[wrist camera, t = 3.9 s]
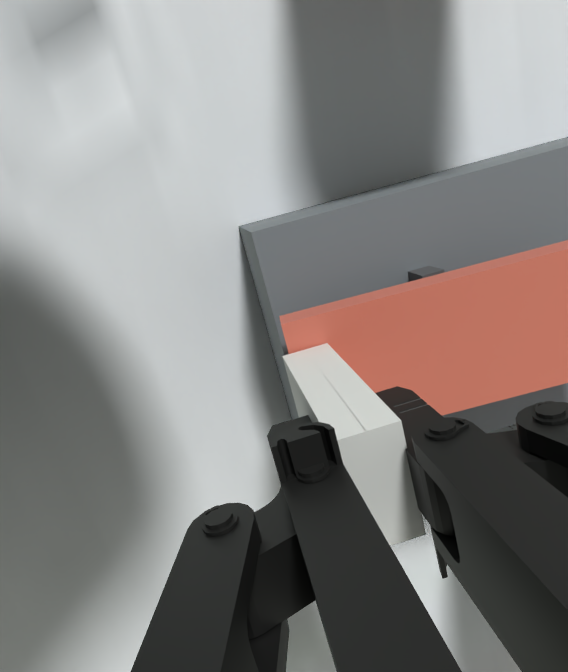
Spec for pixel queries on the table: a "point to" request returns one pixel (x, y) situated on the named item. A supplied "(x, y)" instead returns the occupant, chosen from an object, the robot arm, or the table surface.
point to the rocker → (453, 331)
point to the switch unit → (412, 244)
